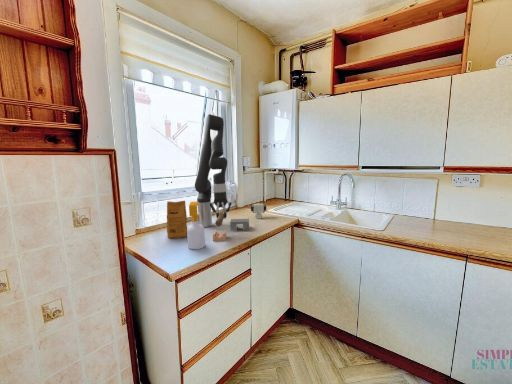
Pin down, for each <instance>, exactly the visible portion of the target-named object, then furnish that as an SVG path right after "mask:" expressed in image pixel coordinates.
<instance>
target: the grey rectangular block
mask: <svg viewBox="0 0 512 384" xmlns="http://www.w3.org/2000/svg"><path fill="white" fill-rule="evenodd" d="M229 224H230V225H229V226H230V232H236V231H237V230H238V225H242V231H245V232H246V231H248V232H249V231H250V218H231V219H230V221H229Z"/></svg>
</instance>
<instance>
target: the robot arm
mask: <svg viewBox="0 0 512 384" xmlns="http://www.w3.org/2000/svg"><path fill="white" fill-rule="evenodd" d="M205 118H206V119H205V124H204V133H203V140H202V141H203V142H202V145H201V146H202V147H201V150H200V151H201V152H200V156H199V157H200V158H199V163H198V170H197V175H196V179H195V182H194V188H195V190H196V192H198V195H197V197H196V198H197V199H196V202H198V205H197V214H199V215H198V216H197V219H198V223H199V224H200V225H202V226H203V227H204V228H208V227H211V226H213V218H212V217H213V215H212V212H213V213H215V214H216V219H217V218H218V216H219V214H220V212H219V210H220V208H222V209H223V213H224V219H223V220H225V219H226V218H227V216H228V214H227V213H228V212H230V209H231V206H232V203H233V202H232V201H229V200H228V199H227V197H228V195H227V185H226V170H227V168H228V167H227V166H228V160H227V157H223V156H224V146H223V143H224V142H223V139H224V126H225V125H224V122H225V121H224V118H223V117H222V116H218V115H214V114H211V113H208V114H207V116H206V117H205ZM211 131H215V132H217V134H216V136H215V137H213V139H212V137H211ZM211 170H213V171H214V170H220V172H217V173H214V174H213V176H212V179H213V182H212V183H213V187H212V183H211V181H210V179H209V174H210V172H211ZM212 188H213V190H212ZM212 191H213V201H212ZM226 205H227V206H228V207H227V208H226ZM215 207H216V209H215Z"/></svg>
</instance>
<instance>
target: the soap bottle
mask: <svg viewBox="0 0 512 384" xmlns="http://www.w3.org/2000/svg"><path fill="white" fill-rule="evenodd" d="M188 210H189V211H188V213H189V214H188V215H189V217H192V219H191V224H190V225H189V226H187V236H186V237H187V247H188V249H189V250H190V249H191V250H199V249H203V248H205V246H206V236H205V235H206V233H205V227H203V226H202V225H200V224H199V223H198V218H197V216H198V215H199V214H197V213H198V202H197V201H190V203H189V204H188Z"/></svg>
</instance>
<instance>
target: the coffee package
mask: <svg viewBox="0 0 512 384" xmlns="http://www.w3.org/2000/svg"><path fill="white" fill-rule="evenodd" d="M187 217H188V215H187V207H186V200H179V201H170V200H169V201H167V202H166V234H167V238H168V239H173V238H175V239H181V238H186V237H187V228H188V224H187V223H188V221H187V220H188V219H187Z"/></svg>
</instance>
